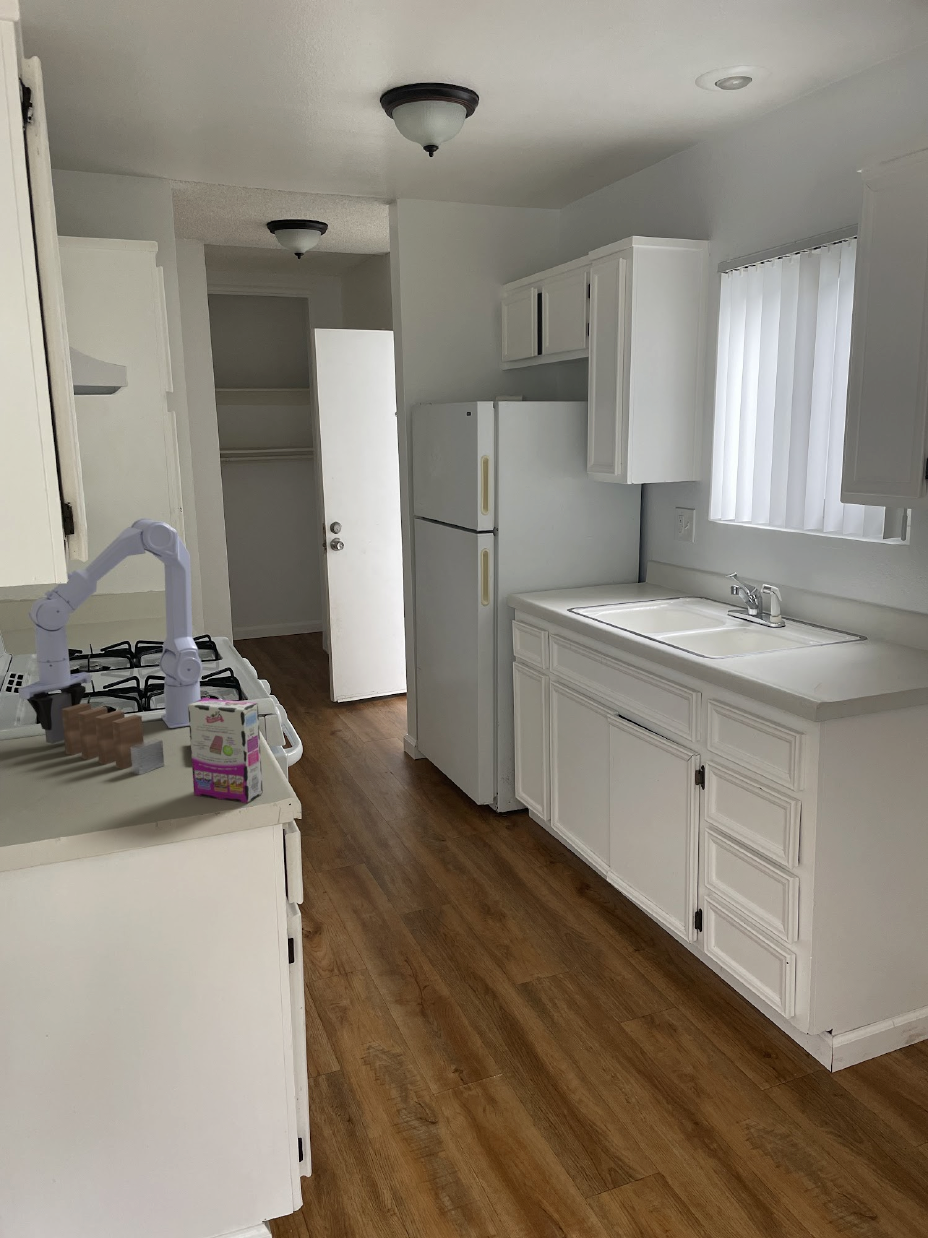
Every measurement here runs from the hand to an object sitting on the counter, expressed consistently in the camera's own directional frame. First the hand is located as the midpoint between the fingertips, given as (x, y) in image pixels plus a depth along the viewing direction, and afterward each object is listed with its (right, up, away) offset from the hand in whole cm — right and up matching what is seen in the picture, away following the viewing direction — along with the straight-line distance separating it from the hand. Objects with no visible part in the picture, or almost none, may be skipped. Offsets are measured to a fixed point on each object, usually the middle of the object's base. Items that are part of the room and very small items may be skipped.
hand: (59, 725), depth 185 cm
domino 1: (0, -3, +1) cm, 3 cm away
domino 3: (+9, -5, -5) cm, 12 cm away
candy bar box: (+40, -9, -25) cm, 48 cm away
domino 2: (+5, -5, -2) cm, 7 cm away
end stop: (+22, -7, -13) cm, 26 cm away
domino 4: (+14, -6, -8) cm, 17 cm away
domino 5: (+18, -6, -10) cm, 21 cm away
